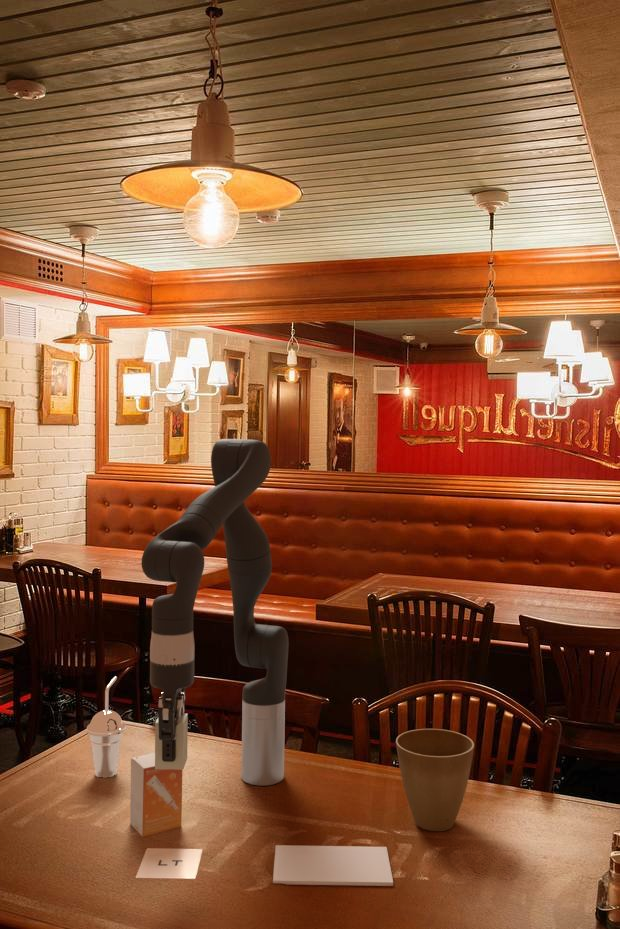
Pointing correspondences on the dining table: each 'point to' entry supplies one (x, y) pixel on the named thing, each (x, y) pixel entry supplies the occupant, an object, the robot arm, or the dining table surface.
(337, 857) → the white rectangular board
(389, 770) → the dining table surface
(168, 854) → the tile
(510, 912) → the dining table surface
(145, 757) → the small box
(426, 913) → the dining table surface
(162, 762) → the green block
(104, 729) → the cup with straw
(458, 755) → the plant pot
